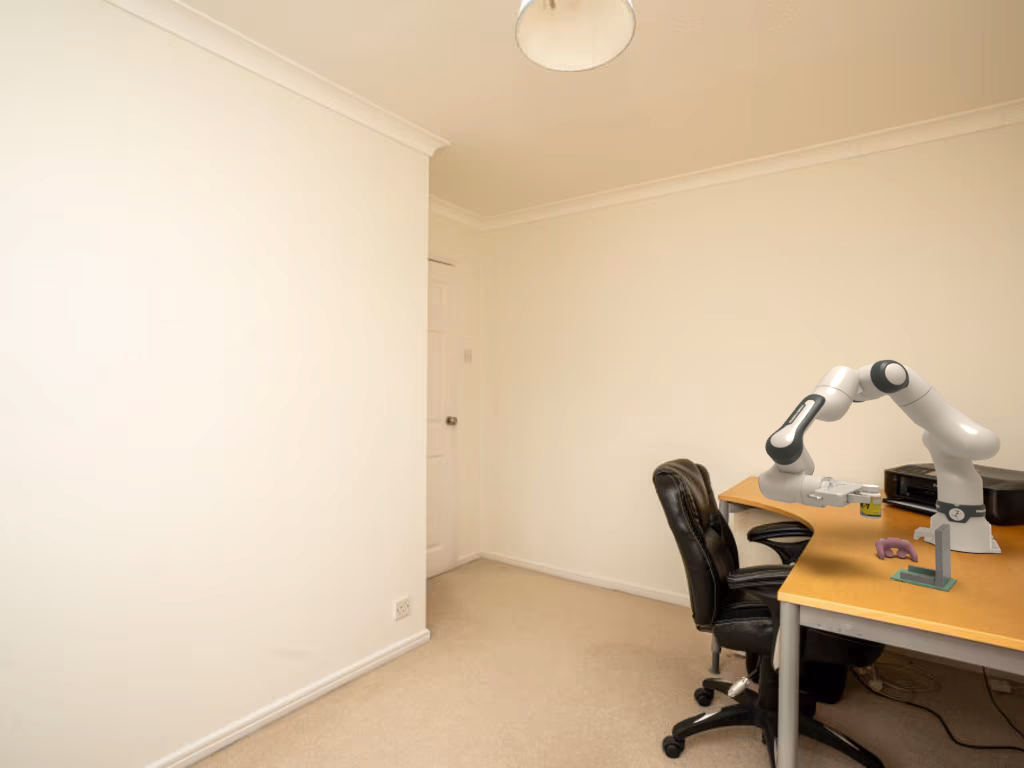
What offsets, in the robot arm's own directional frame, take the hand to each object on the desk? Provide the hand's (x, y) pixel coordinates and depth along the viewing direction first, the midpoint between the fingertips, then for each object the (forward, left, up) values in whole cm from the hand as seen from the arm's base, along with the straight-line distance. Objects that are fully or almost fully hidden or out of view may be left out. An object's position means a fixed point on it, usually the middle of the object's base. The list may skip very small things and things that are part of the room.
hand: (874, 498), depth 142 cm
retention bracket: (-6, +9, -21) cm, 24 cm away
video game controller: (-23, -1, -21) cm, 32 cm away
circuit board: (-6, +9, -21) cm, 24 cm away
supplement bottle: (0, -1, -5) cm, 5 cm away
